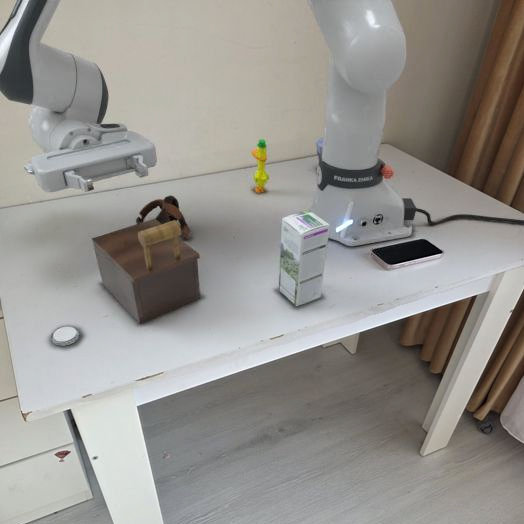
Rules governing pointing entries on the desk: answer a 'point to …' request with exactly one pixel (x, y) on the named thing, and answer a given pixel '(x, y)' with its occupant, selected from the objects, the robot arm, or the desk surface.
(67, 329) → the white flat disc
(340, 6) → the robot arm
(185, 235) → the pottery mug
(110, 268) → the box
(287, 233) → the syrup box
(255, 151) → the toy figure
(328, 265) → the desk surface
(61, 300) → the desk surface
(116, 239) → the chest lid
